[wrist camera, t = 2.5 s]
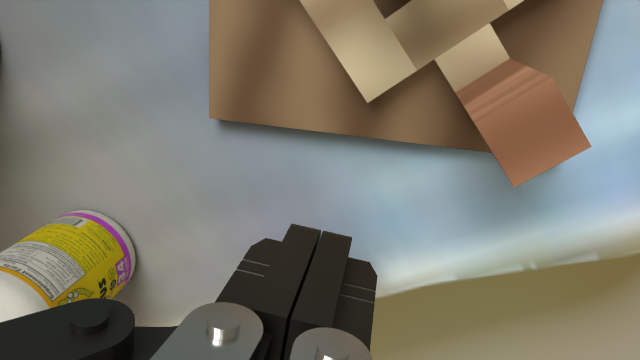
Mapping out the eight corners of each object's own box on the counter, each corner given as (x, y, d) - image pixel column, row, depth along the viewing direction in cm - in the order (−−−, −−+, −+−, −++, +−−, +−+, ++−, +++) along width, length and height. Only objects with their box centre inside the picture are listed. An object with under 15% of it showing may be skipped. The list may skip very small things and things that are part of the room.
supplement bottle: (110, 304, 36) (-35, 450, 24) (39, 247, 35) (-146, 369, 23) (157, 249, 34) (22, 381, 22) (82, 187, 33) (-99, 288, 21)
